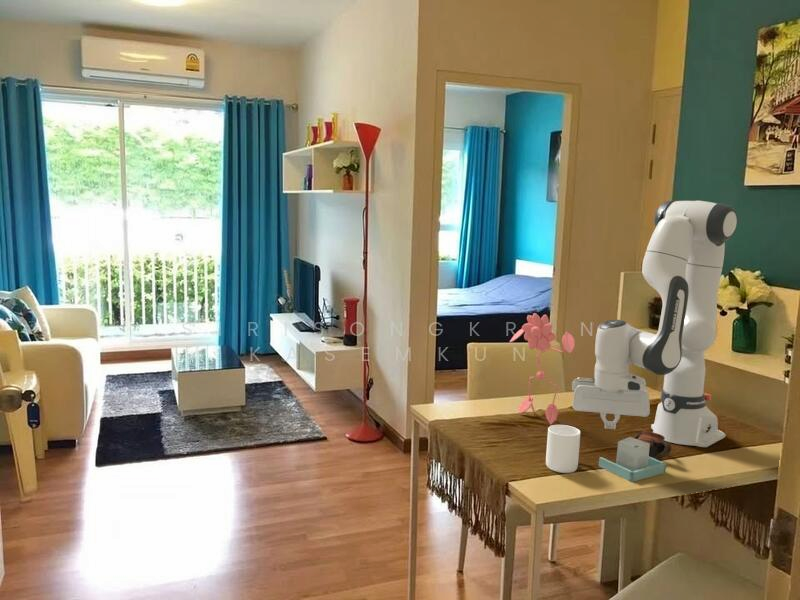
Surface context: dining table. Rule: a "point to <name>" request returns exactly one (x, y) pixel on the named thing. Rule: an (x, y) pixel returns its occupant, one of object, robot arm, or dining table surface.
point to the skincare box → (632, 454)
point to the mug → (562, 448)
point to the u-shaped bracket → (652, 470)
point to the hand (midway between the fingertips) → (610, 428)
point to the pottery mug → (655, 444)
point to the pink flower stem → (540, 339)
